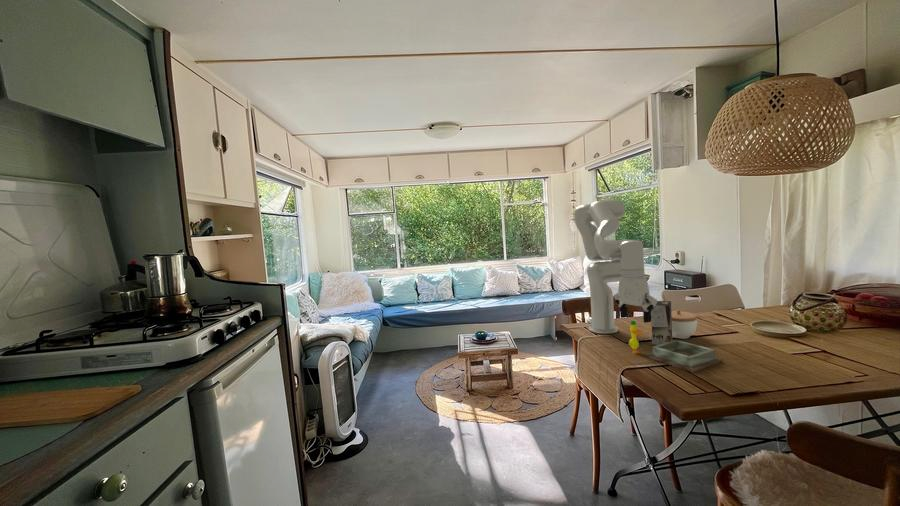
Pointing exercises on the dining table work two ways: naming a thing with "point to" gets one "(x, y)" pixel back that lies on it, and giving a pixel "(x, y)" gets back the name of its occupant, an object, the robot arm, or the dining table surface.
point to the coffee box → (661, 323)
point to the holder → (684, 355)
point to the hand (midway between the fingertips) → (635, 319)
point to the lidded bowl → (683, 324)
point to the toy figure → (634, 336)
